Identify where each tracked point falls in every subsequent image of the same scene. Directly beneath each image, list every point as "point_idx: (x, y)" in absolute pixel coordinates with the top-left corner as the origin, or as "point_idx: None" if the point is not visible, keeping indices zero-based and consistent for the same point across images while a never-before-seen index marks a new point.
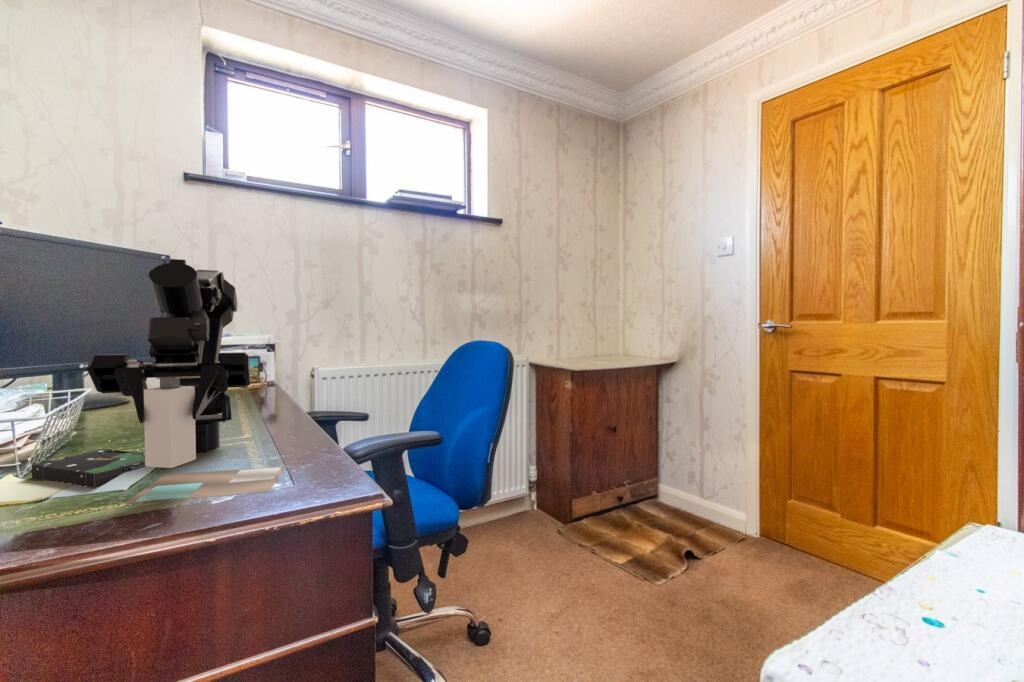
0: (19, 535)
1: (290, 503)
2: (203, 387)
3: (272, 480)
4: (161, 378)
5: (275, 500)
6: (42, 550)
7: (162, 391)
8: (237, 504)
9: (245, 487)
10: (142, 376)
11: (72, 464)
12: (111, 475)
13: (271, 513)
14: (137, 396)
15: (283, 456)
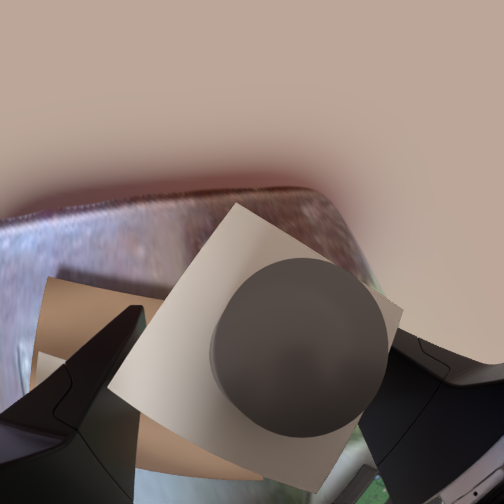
0: (369, 280)
1: (33, 251)
2: (59, 391)
3: (40, 342)
4: (357, 283)
5: (47, 276)
6: (317, 218)
7: (285, 238)
8: (98, 284)
9: (81, 322)
10: (488, 412)
11: None
12: (356, 488)
13: (60, 221)
14: (406, 338)
15: None
